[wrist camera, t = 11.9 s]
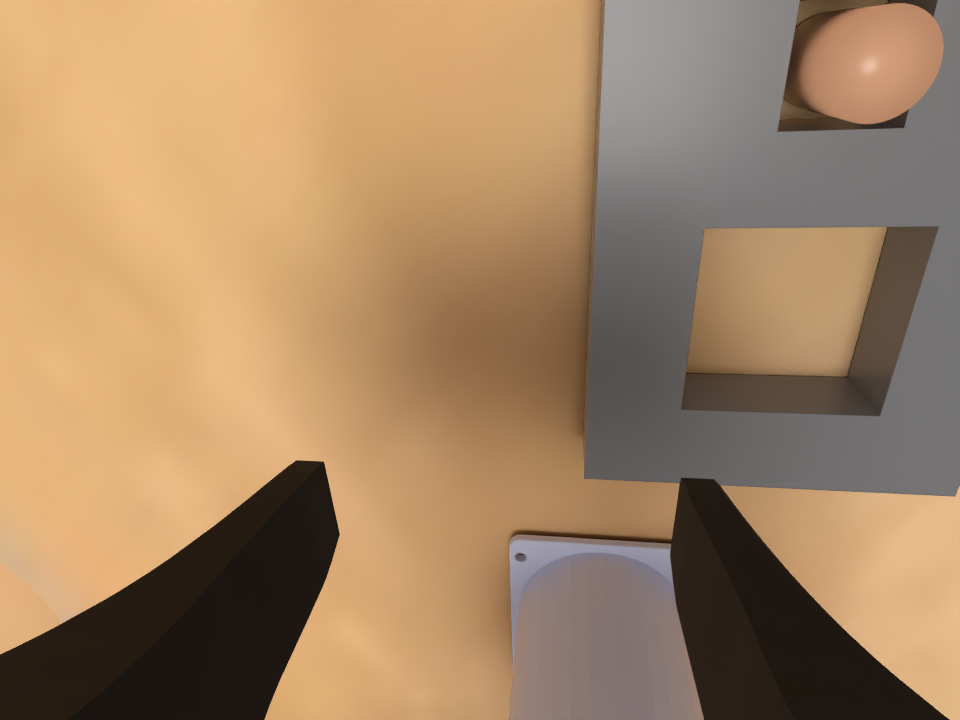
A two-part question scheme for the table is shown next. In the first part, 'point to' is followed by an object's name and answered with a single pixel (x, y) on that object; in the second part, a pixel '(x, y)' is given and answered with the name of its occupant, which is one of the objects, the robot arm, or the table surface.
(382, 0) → the table surface
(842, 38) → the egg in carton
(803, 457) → the grey board with holes
